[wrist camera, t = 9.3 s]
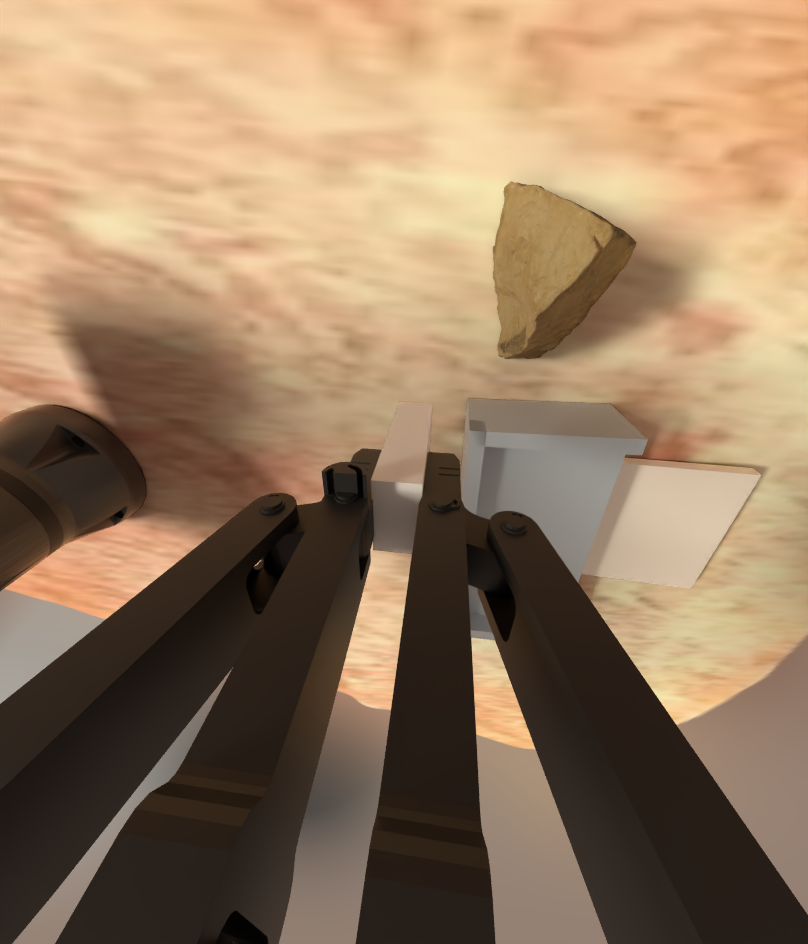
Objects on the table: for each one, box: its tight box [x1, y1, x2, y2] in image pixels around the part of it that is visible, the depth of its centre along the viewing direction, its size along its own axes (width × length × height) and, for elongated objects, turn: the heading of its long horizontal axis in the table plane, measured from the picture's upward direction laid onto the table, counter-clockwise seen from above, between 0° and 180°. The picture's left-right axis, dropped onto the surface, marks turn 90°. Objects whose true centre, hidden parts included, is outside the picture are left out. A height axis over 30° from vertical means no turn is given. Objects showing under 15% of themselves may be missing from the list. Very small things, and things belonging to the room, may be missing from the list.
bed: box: [460, 398, 648, 640], centre depth 34 cm, size 12×24×7 cm, turn 0°
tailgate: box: [582, 458, 761, 589], centre depth 34 cm, size 1×14×11 cm
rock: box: [493, 182, 636, 359], centre depth 23 cm, size 11×9×10 cm
